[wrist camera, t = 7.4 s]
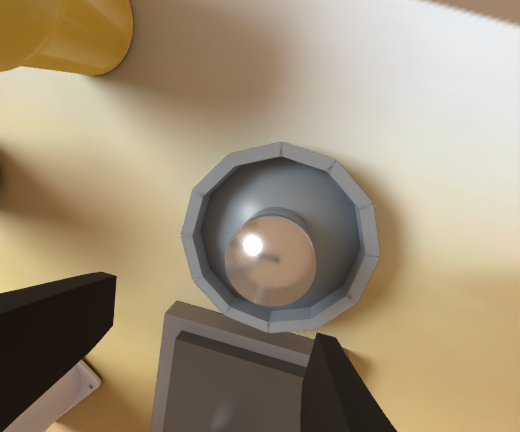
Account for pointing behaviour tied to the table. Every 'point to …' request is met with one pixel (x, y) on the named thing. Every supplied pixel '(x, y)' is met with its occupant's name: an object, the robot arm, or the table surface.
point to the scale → (227, 375)
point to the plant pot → (65, 34)
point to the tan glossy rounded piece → (272, 257)
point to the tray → (299, 201)
